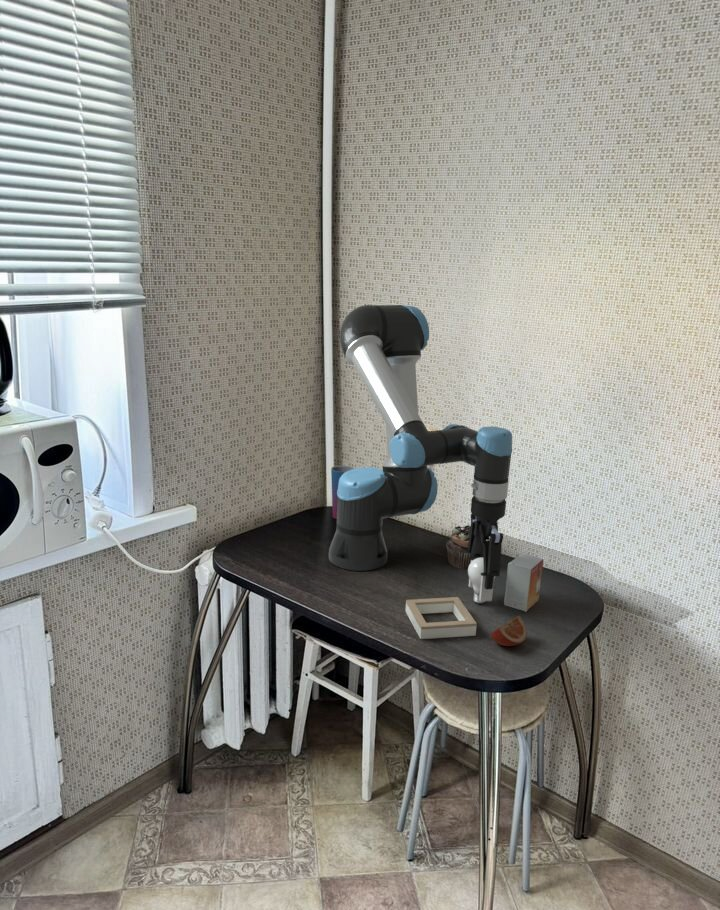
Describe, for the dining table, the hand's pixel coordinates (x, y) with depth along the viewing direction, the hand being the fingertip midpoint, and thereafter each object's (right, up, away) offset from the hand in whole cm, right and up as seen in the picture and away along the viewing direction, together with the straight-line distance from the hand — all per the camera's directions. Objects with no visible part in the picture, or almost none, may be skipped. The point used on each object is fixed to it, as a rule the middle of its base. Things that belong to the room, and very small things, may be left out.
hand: (479, 593), depth 163 cm
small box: (+10, -3, +2) cm, 10 cm away
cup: (-33, +13, +51) cm, 62 cm away
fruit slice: (+3, -7, -16) cm, 18 cm away
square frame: (-10, -5, -9) cm, 15 cm away
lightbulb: (0, -3, +1) cm, 3 cm away
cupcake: (-1, +3, +22) cm, 23 cm away
